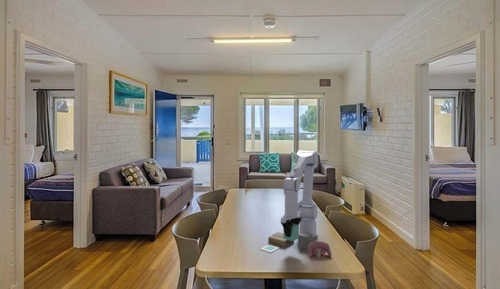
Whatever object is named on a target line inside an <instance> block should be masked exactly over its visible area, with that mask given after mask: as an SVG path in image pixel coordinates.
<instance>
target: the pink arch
mask: <svg viewBox="0 0 500 289" xmlns="http://www.w3.org/2000/svg"><path fill="white" fill-rule="evenodd" d="M318 249H320V250H319V251H318ZM307 251H308V256H309V257H310V258H309V259H311V258H313V255H314V256H316V255H318V254H320V255H321V256H323V255H325V254H326V253H327V255H328V257H329V258H332V250H331V247H330V245H329V243H327V242H325V241H321V240H320V241H319V240H316V241H313V242H311V243H310V244H308V250H307Z"/></svg>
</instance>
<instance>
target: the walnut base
mask: <svg viewBox="0 0 500 289" xmlns="http://www.w3.org/2000/svg"><path fill="white" fill-rule="evenodd" d="M267 238H268V239H267V241H268V244H269V245H273V246H276V247H281V248H286V247H287V246H289V245H291V244H292V243H294V242H295V240H294V241H291V240H287V239H283V232H280V231H278V232H275V233H274V234H272V235H270V236H268V237H267Z"/></svg>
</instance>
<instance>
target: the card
mask: <svg viewBox="0 0 500 289" xmlns="http://www.w3.org/2000/svg"><path fill="white" fill-rule="evenodd" d="M279 249H280V246H277V245H274V244H270V243H268V244H267V245H265V246H263V247H261V248H260V249H259V250H261V251H264V252H267V253H273V252H276V251H277V250H279Z"/></svg>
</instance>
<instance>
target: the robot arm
mask: <svg viewBox="0 0 500 289" xmlns="http://www.w3.org/2000/svg"><path fill="white" fill-rule="evenodd" d="M295 157H296V158H295V160H296V164H295V166H294V167H292V168H291V170H290V172H289V174H288V176H287V177H286V178H284V179H283V182H282V189H283V195H284V214H283V216H281V217H280V224H281V226H282V228H284V232H285V236H286V237H290V236H291V229H292V226H293V224H298V225H299V234H301V233H302V232H305V233H310V234H313V239H314V238H316V237H317V236H318V235H319V234H318V233H317V221H316V219H317V217H318V206H317V203H316V202H315V201H313V187H314V186H313V185H314V171H315V169H316V168H318V166H319V165H318V164H319V155H318V152H317V151H316V150H314V151H311V150H309V151H308V150H297V151H296V156H295ZM302 178H303V184H302V200H300V201H299V191H300V187H301V181H302Z"/></svg>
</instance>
